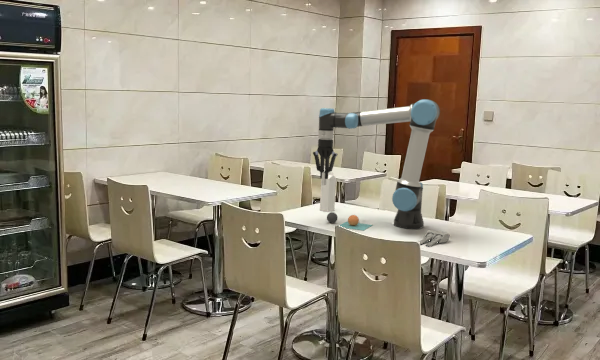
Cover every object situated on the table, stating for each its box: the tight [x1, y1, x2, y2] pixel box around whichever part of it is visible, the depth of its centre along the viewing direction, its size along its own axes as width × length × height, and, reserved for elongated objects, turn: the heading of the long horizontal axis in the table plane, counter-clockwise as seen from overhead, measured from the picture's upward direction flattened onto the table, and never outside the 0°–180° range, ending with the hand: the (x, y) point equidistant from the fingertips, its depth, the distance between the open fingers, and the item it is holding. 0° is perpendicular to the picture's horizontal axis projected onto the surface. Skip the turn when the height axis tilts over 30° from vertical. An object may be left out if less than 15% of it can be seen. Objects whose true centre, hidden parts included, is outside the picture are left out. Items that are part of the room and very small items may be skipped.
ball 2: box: [347, 214, 360, 226], centre depth 296 cm, size 6×6×6 cm
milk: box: [319, 171, 337, 213], centre depth 332 cm, size 6×6×22 cm
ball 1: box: [326, 211, 338, 224], centre depth 301 cm, size 6×6×6 cm
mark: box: [339, 221, 373, 231], centre depth 296 cm, size 14×14×1 cm
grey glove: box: [418, 229, 451, 247], centre depth 269 cm, size 10×20×5 cm, turn 140°
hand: (323, 185), depth 301 cm, fingers closed
